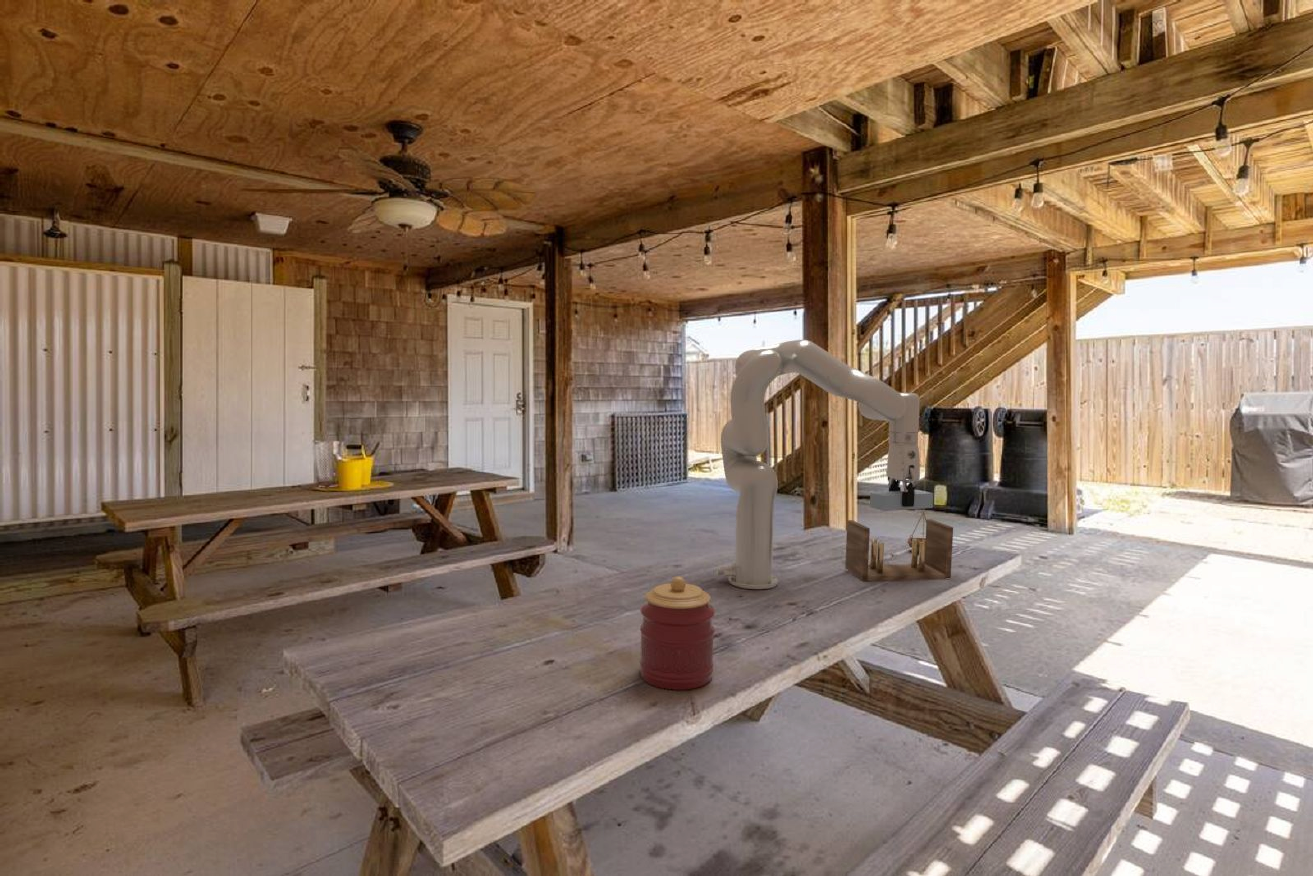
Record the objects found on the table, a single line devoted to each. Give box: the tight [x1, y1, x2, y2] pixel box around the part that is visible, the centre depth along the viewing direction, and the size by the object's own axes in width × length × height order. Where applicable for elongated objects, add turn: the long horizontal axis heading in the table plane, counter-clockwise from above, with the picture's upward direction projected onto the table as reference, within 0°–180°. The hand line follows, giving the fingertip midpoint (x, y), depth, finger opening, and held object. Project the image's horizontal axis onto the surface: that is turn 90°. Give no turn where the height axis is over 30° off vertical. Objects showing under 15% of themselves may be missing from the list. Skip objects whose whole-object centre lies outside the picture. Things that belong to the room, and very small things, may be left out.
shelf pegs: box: [869, 538, 926, 573], centre depth 189 cm, size 14×6×8 cm, turn 98°
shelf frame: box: [844, 518, 954, 582], centre depth 188 cm, size 25×11×14 cm, turn 98°
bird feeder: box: [907, 457, 928, 552], centre depth 213 cm, size 9×9×30 cm
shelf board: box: [869, 489, 934, 512], centre depth 188 cm, size 16×6×4 cm, turn 111°
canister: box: [639, 576, 716, 691], centre depth 120 cm, size 13×13×18 cm
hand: (900, 503), depth 188 cm, fingers closed on shelf board, 6 cm apart
